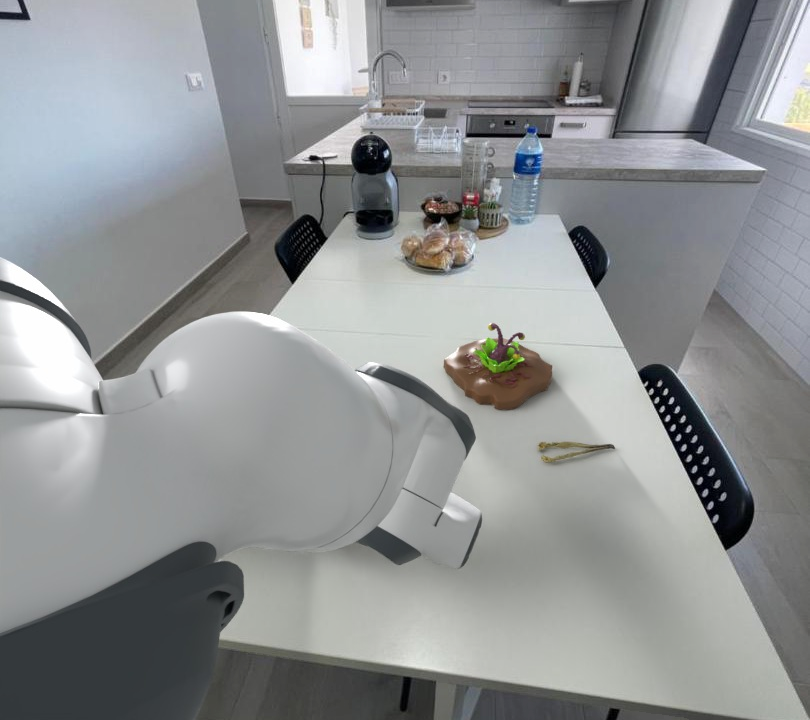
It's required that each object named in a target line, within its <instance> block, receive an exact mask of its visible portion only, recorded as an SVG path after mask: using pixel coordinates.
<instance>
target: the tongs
mask: <svg viewBox="0 0 810 720" xmlns="http://www.w3.org/2000/svg"><path fill="white" fill-rule="evenodd" d="M537 447H538V449H537V451H541V450H542V449H543V450H544V449H548V448H560V449H568V448H580V449H581V448H583V450H579V451H572V452H568V453H565V454H561V455H556V456H555V457H553V458H551V457H550V456H546V455H544V454H543V455H541V457H540V459H541V460H542V462H544V463H551V462H556V461H560V460H565V459H571V458H574V457H576V456H579V455H580V456H581V455H585V454H589V453H592V452H596V451H603V450H610V449H611V450H612V449H613V450H616V446H615V445H614V444H612V443H605V444H604V443H603V444H588V443H587V444H586V443H581V442H575V441H552V442H545V441H541V442H538V444H537Z"/></svg>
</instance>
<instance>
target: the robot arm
mask: <svg viewBox="0 0 810 720" xmlns="http://www.w3.org/2000/svg"><path fill="white" fill-rule="evenodd" d="M476 441H477V436H476V432H475V429H474V426H473V423H472V421H471V418H470V417H469V415H468V414H467V413H466V412H465V411H463V410H462V409H461V408H460V407H458V405H456V404H454V403H452V402H451V401H450V400H449V401H448V400H447V399H444V397H442V396H441V395H440V394H439V393H438V392H436V391H435V390H434V389H433V388H432V387H431V386H430V385H428V384H427V383H425V382H424V381H423V380H421V379H419V378H418V377H416V376H414V375H412V374H411V373H408V372H407V371H403V370H402V369H399V368H396V367H393V366H390V365H387V364H384V363H380V362H379V363H378V362H366V363H364V364H363V365H361V366H359V367H358V368H356V369H355V368H353V367H352V366H351V365H350V364H349V363H347V361H345V360H344V359H343V358H342V357H340V356H339V355H338V354H337V353H335V351H333V350H332V349H330V348H329V347H327V346H326V345H325V344H323V343H322V342H320V341H319V340H318V339H315V337H313V336H311V335H310V334H308V333H306V332H305V331H303V330H300V329H299V328H297V327H296V326H295V325H292V324H291V323H289V322H286V321H285V320H282V319H280V318H278V317H274V316H271V315H268V314H265V313H259V312H252V311H228V312H221V313H214V314H212V315H208V316H204V317H201V318H199V319H196V320H193V321H192V322H190V323H188V324H186V325H184V326H182V327H180V328H178V329H176V331H173V333H171V334H169V335H168V336H167V337H165V338H164V339H163V340H162V341H161V342H159V343H158V344H157V345H156V346H155V347H154V348H153V349H152V350H151V351H150V352H149V354H148V355H147V356H146V357H145V358H144V360H143V361H142V362H141V364H140V365H139V366H138V368H137V370H136V371H135V372H134V373H132V374H128V375H125V376H123V377H121V376H120V377H117V378H111V379H103V377H102V376H101V374H100V372H99V370H98V369H97V367H96V365H95V363H94V362H93V359H92V350H91V346H90V343H89V339H88V338H87V335H86V334H85V332H84V330H83V329H82V328H81V326H80V324H79V323H78V322H77V320H76V319H75V318H74V316H73V315H72V314H71V313H70V311H69V310H68V309H67V308H66V306H65V305H64V304H63V303H62V301H60V299H58V297H56V295H55V294H53V292H51V290H50V289H49V288H48V287H47V286H45V285H44V284H43V283H42V282H41V281H39V279H37V278H36V277H34V276H33V275H32V274H30V273H28V272H27V271H26V270H25V269H23V268H22V267H20V266H18V265H17V264H15V263H13V262H12V261H10V260H7V259H5V258H4V257H1V256H0V720H197V718H198V716H199V713H200V711H201V709H202V706H203V704H204V701H205V699H206V697H207V694H208V692H209V689H210V687H211V684H212V682H213V678H214V673H215V667H216V663H217V656H218V650H219V644H220V637H221V632H223V630H224V629H226V627H227V626H228V625H229V624H230V623H231V621H232V620H233V619H234V618H235V616H236V615H237V613H239V610H240V608H241V606H242V604H243V602H244V599H245V578H244V577H245V576H244V572H243V570H242V568H241V567H239V566H238V564H237V563H233V562H231V561H229V560H221V559H223V558H224V557H226V556H228V555H229V554H232V553H235V552H237V551H240V550H242V549H246V548H259V549H265V550H274V551H283V552H292V553H294V552H295V553H324V552H330V551H335V550H339V549H342V548H345V547H348V546H350V545H352V544H354V543H358V544H359V545H363V546H366V547H369V548H371V549H373V550H374V551H376V552H377V553H379V554H380V555H382V556H383V557H385V558H386V559H388V561H390V562H391V563H393V564H395V565H396V566H402V565H405V564H407V563H409V562H412V561H414V560H416V559H419V558H420V557H421V558H423V559H425V560H428V561H430V562H432V563H434V564H438V565H440V566H444V567H446V568H449V569H453V570H460V569H461V568H462V567H464V566H465V565H466V564H467V562H468V560H469V558H470V555H471V553H472V551H473V548H474V546H475V543H476V541H477V538H478V536H479V533H480V530H481V527H482V523H483V514H482V510H480V509H479V508H477V507H476V506H475V505H474V504H472V503H470V502H468V501H467V500H465V499H464V498H462V497H460V496H459V495H457V494H455V493H454V492H452V491H453V488H454V486H455V484H456V481H457V478H458V476H459V474H460V472H461V469H462V467H463V465H464V462H465V461H466V459H467V457H468V456H469V454H470V452H471V450H472V448H473V446H474V444H475V442H476ZM220 560H221V561H220Z"/></svg>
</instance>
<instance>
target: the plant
mask: <svg viewBox="0 0 810 720" xmlns="http://www.w3.org/2000/svg"><path fill="white" fill-rule="evenodd" d="M487 327H488V328H487V329H488V330H489V331H490V332H492V331H493V332H494V331H495V330H496V332H497V337H496V338H492V337H491V338H490V337H486V338H482V339H478V340H477V339H476V340H474V341H471V342H468V343H466V344H463V345H460V346H458V347H457V349H456V351H454V352H453V353H452V354H450V355H448V356H447V357H446V358H444V359H443V369H444V372H445V374H447V375H448V376H449V377H451V379H452V381H453V382H454V384H456V385H457V386H458V387H459V388H460V389H462V390H463V392H464V395H465V397H467V398H471V399H473V400H474V401H475V403H476V404H478V405H493V407H494V409H496V410H502V411H503V410H505V411H507V410H514V409H516V408H518V407H520V406H521V405H523V404H524V403H525V402H526V400H528V399H530V398H531V397H532V396H535V395H536V394H539V393H541V392H545V391H548V389H549V386H550V384H551V382H552V378H553V365H552V364H550V363H548V362H546V361H544V359H542V357H541V355H540V354H539V353H538V352H536V351H534V350H531V349H529V348H527V347H525V346H523V345H522V344H520V343H519V341H514V339H515V338H516V337H517V338H518V340H520V341H524V340H525V339H526V335H525V334H524V333H523V332H516V333H514V334H512V335H511V336H510V337H509V338H508V339H507V338H504V336H503V332H502V330H501V328H500V326H499V325H498V324H496V323H495V322H491V323H489V324H488V326H487Z"/></svg>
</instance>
